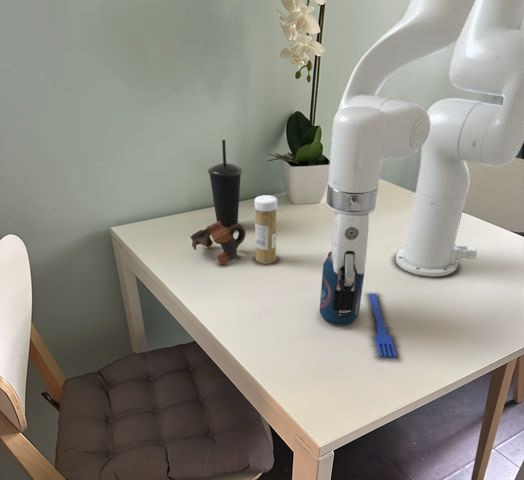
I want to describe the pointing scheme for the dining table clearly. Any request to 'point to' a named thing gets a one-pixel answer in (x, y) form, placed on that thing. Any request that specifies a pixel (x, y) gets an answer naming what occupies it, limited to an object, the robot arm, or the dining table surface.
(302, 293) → the dining table surface
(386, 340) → the blue fork
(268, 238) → the sprinkles bottle
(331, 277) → the soda can
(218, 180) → the drinking cup
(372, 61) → the robot arm
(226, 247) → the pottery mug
